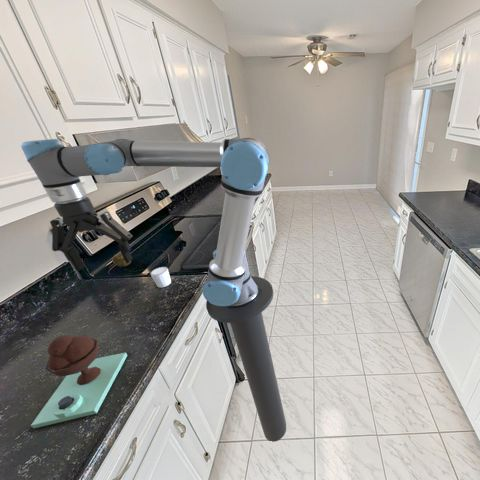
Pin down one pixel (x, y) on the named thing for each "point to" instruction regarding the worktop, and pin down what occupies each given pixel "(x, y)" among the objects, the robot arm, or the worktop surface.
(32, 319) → the worktop surface
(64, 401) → the button
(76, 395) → the scale
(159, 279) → the shot glass
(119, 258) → the potato
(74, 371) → the ice cream bowl
